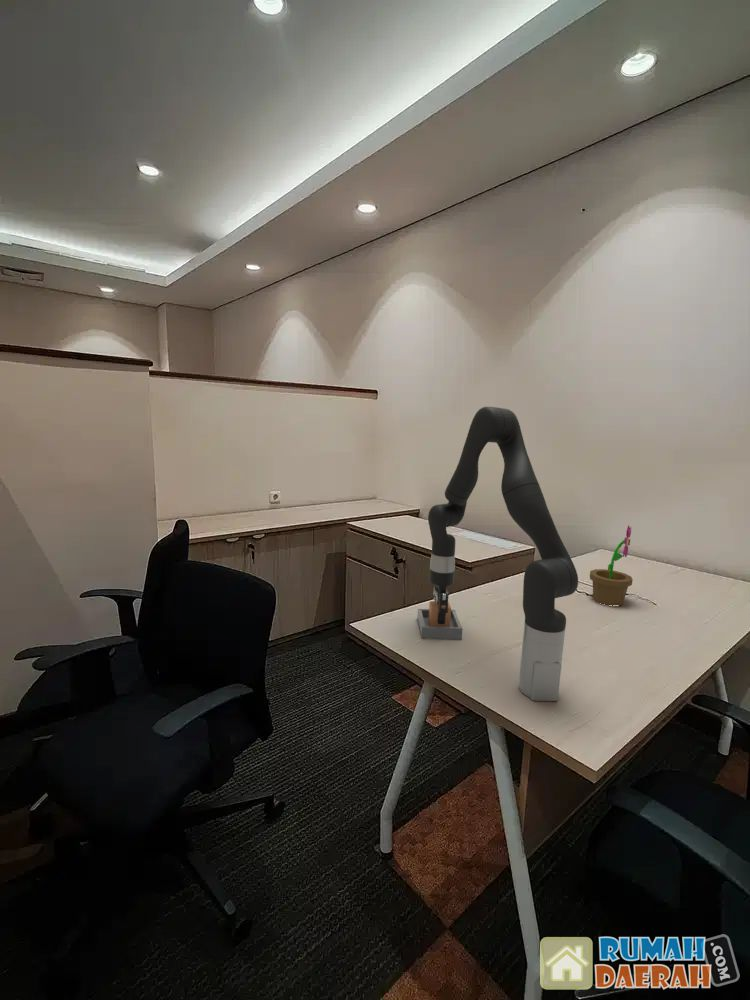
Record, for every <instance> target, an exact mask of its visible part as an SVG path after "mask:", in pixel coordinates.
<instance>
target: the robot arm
mask: <svg viewBox="0 0 750 1000" xmlns="http://www.w3.org/2000/svg"><path fill="white" fill-rule="evenodd" d="M466 435H467V436H466V439H465V441H464V445H463V448H462V451H461V455H460V457H459V460H458V463H457V466H456V468H455V470H454V473H453V475H452V476H451V478H450V480H449V482H448V484H447V486H446V489H445V491H444V497H445V498H446V500H447V501H448V502H447V503H442V504H440V503H439V504H434V505H433V506H431V508H430V509H429V512H428V515H427V521H428V525H429V531H430V532H429V533H430V535H431V536H430V537H431V539H432V540H431V541H432V543H431V554H430V555H431V556H430V561H429V562H430V563H429V575H428V576H429V578H428V579H429V580H428V581H429V583H430V584H431V585H433V592H432V596H433V601H434V602H436V605H438V624H445V616H446V613H447V612H448V602H449V590H448V588H447V587H449V586H452V585H454V583H455V571H456V570H455V569H456V568H455V567H456V555H455V554H456V538H455V536H453V535H452V534H451V533H450V534H449V533H448V532H447V528H450V527H455V526H458V524H460V523H461V522H462V520H463V519H464V517H465V512H466V507H467V504H468V503H467V502H468V500H469V498H470V496H471V494H473V493H472V492H473V491H474V489H475V487H476V485H477V483H478V480H479V479H478V478H479V460H480V456H481V453H482V452H483V449H484V448H485V446H486V445H487V444H488V443H494V444H495V443H496V444H497V446H498V447H499V450H500V453H501V455H502V459H503V464H504V466H503V473H502V479H501V485H500V486H501V489H500V491H501V494H502V497H503V500H504V503H505V506H506V509H507V512H508V514H509V516H510V517H511V518H512V520H513V521H514V522H515V523H516V524H517V526H519V528H521V530H522V531H523V532H525V534H526V535H527V536H528V537H529V538H530V539H531V540H532V542H533V543H534V545H535V547H536V548H537V551H538V553H539V556H540V558H541V559H539V560H533V561H531V562H530V563H529V564H528V565H527V566H526V568H525V571H524V575H523V588H522V590H523V591H522V609H523V613H524V623H523V624H524V625H523V626H524V627H523V635H522V644H521V645H522V647H521V656H520V666H519V667H520V668H519V676H518V677H519V678H518V690H519V691H520V692H521V693H522V694H523V695H524V696H526V697H528V698H529V699H530V700H531V701H536V702H537V701H538V702H539V701H541V702H558V700H559V692H560V683H561V673H562V672H561V671H562V663H563V653H564V646H565V644H564V643H565V636H566V628H567V627H566V626H567V618H566V616H565V614H564V613H563V612H561V611H560V610H558V609H556V608H555V604H556V603H555V601H556V599H560V598H562V597H568V596H571V595H573V594H574V593H575V592H576V591H577V589H578V586H579V576H578V575H579V574H578V572H577V569H576V567H575V564H574V562H573V560H572V558H571V555H570V554H569V552H568V550H567V548H566V546H565V544H564V542H563V541H562V538H561V537H560V534H559V532H558V530H557V527H556V525H555V522H554V519H553V518H552V515H551V512H550V511H549V509H548V506H547V502H546V500H545V497H544V494H543V491H542V488H541V486H540V483H539V480H538V479H537V476H536V474H535V471H534V468H533V465H532V463H531V459H530V458H529V455H528V451H527V448H526V444H525V441H524V440H525V439H524V437H523V433H522V429H521V426H520V422H519V419H518V417H517V415H516V414H515V412H513V411H512V410H510V409H509V408H502V407H497V406H483V407H481V408H480V409H478V411H476V413H475V414H474V416H473V418H472V421H471V424H470V426H469V430H468V432H467V434H466ZM442 605H444V609H443V608H441V606H442Z"/></svg>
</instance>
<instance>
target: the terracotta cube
mask: <svg viewBox="0 0 750 1000" xmlns="http://www.w3.org/2000/svg"><path fill="white" fill-rule="evenodd" d="M428 603H429V605H428V607H429V608H428V609H429V621H428V623H429V626H438V627H450V618H451V610H452V607H451V605H450V602H449V601H448V612H447V613H446V616H445V624H438V605H436V602H435V601H434V600H433V601H429V602H428ZM441 608H443V609H444V605H442V606H441Z"/></svg>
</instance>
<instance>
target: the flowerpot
mask: <svg viewBox="0 0 750 1000" xmlns="http://www.w3.org/2000/svg"><path fill="white" fill-rule="evenodd" d="M631 534H632V526H630V525H629V524H628V525H627V529H626V537H624V539H622V541H620V542H619V544H618V545H617V546H616V548H614V551H613V554H612V557H611V560H610V563H609V564H607V569H606V568H605V569H604V568H599V569H597V568H596V569H592V570H590V571H589V580H591V581H592V601H593V600H594V602H595V601H596V602H595V603H597V602H598V603H597V604H599V603H601V604H600V605H602V604H605V605H612V606H613V605H622V604H623V605H624V602H625V600H626V599H625V598H626V595H627V592H628V588H629V587H631V586H632V585H633V578H632V576H631V575H628V574H626V573H625V572H621V571H617V570H614V567H615V566H614V564H615V562H617V561H619V560H620V559H622V557H625V558H627V556H628V553H629V546H630V545H631ZM623 544H624V546H623ZM622 546H623V550H622V554H621V553H620V552H618V551H619V549H620V548H621V547H622ZM605 605H604V606H605ZM623 605H622V606H623Z"/></svg>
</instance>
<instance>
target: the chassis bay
mask: <svg viewBox="0 0 750 1000" xmlns="http://www.w3.org/2000/svg"><path fill="white" fill-rule="evenodd" d="M457 614H458V613H457V612H456V610H455V609H451V618H450V627H438V626H429V623H428V621H429V608H417V622H419V623H418V627H420V628H419V632H421V633H420V637H421V639H423V638H431V639H430V640H457V641H458V640H462V641H463V627H462V624H461V622H460V620H459V617H458V615H457ZM433 638H434V639H433Z"/></svg>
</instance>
